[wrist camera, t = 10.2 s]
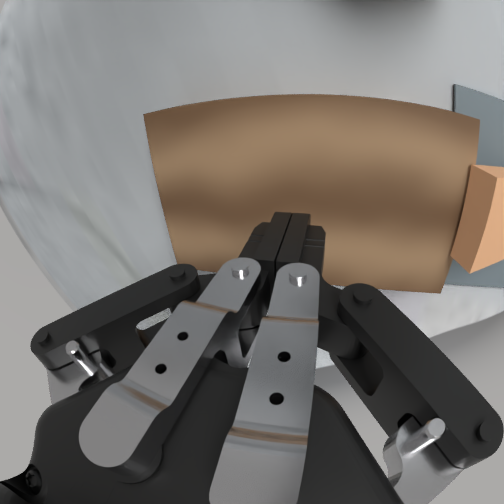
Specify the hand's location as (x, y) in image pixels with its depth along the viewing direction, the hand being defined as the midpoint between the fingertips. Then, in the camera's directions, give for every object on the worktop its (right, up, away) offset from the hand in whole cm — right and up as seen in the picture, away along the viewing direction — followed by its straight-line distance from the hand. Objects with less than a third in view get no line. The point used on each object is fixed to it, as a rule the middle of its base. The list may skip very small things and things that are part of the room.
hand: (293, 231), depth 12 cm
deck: (+3, +4, +7) cm, 8 cm away
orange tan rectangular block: (+15, +2, +1) cm, 15 cm away
